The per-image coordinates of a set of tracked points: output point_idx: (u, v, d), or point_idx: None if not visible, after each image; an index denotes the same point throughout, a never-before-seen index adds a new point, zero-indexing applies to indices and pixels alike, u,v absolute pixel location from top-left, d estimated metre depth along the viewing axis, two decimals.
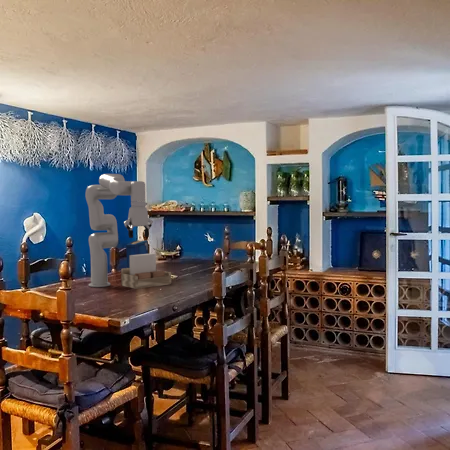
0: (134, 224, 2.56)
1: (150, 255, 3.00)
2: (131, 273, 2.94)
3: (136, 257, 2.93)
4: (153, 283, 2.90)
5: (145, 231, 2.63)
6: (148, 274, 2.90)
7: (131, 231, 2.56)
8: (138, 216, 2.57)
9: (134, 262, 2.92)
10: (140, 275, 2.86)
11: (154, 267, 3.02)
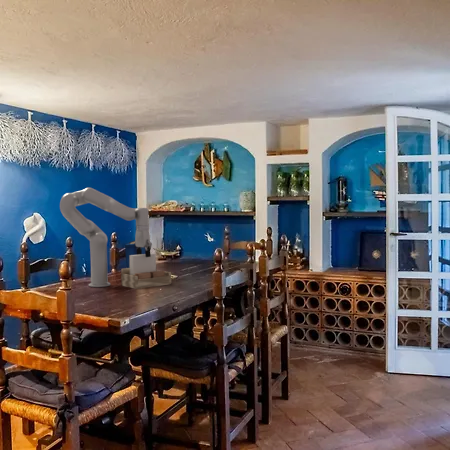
0: None
1: None
2: (131, 273, 2.94)
3: (136, 257, 2.93)
4: (153, 283, 2.90)
5: (139, 251, 3.02)
6: (148, 274, 2.90)
7: (149, 251, 2.95)
8: None
9: (134, 262, 2.92)
10: (140, 275, 2.86)
11: (154, 267, 3.02)
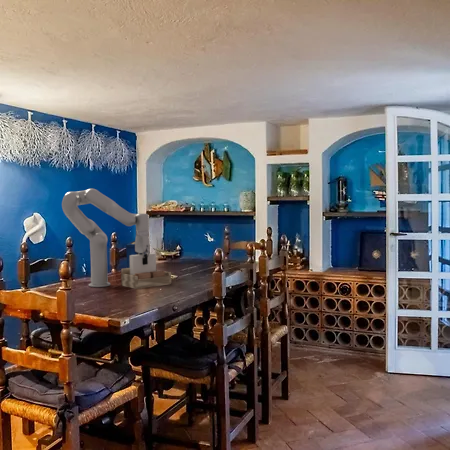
0: None
1: (150, 255, 3.00)
2: (131, 273, 2.94)
3: (136, 257, 2.93)
4: (153, 283, 2.90)
5: None
6: (148, 274, 2.90)
7: (146, 258, 2.97)
8: None
9: (134, 262, 2.92)
10: (140, 275, 2.86)
11: (154, 267, 3.02)
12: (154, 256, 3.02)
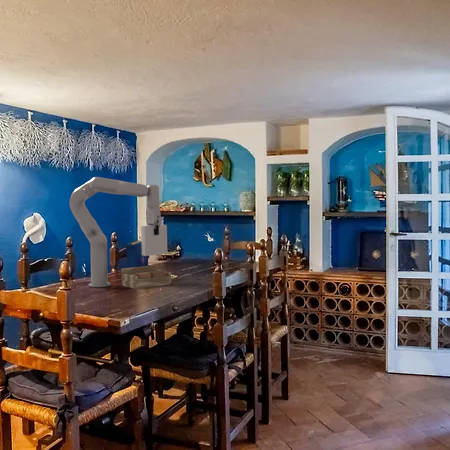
0: None
1: (161, 226, 3.04)
2: (143, 243, 2.98)
3: (147, 227, 2.98)
4: (153, 283, 2.90)
5: None
6: (148, 274, 2.90)
7: (158, 229, 3.02)
8: None
9: (146, 232, 2.97)
10: (140, 275, 2.86)
11: (165, 238, 3.07)
12: (165, 227, 3.06)
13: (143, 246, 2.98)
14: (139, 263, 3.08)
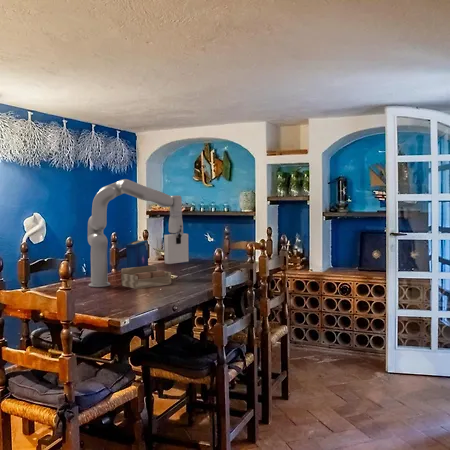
0: None
1: (183, 235, 3.16)
2: (166, 252, 3.10)
3: (170, 236, 3.09)
4: (153, 283, 2.90)
5: None
6: (148, 274, 2.90)
7: (180, 238, 3.13)
8: None
9: (169, 241, 3.09)
10: (140, 275, 2.86)
11: (187, 246, 3.18)
12: (187, 236, 3.18)
13: (166, 254, 3.10)
14: (139, 263, 3.08)
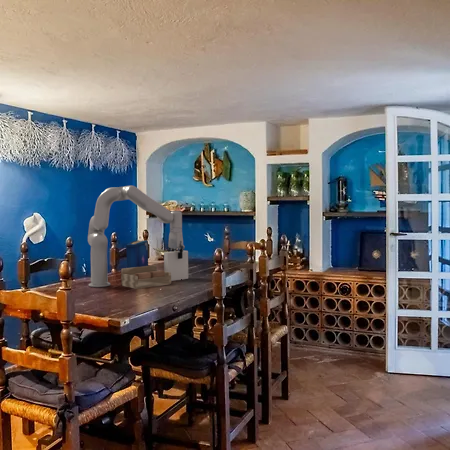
0: None
1: (183, 252, 3.16)
2: (165, 269, 3.10)
3: (170, 254, 3.10)
4: (153, 283, 2.90)
5: None
6: (148, 274, 2.90)
7: (181, 253, 3.13)
8: None
9: (168, 259, 3.09)
10: (140, 275, 2.86)
11: (186, 263, 3.18)
12: (186, 253, 3.18)
13: None
14: (139, 263, 3.08)
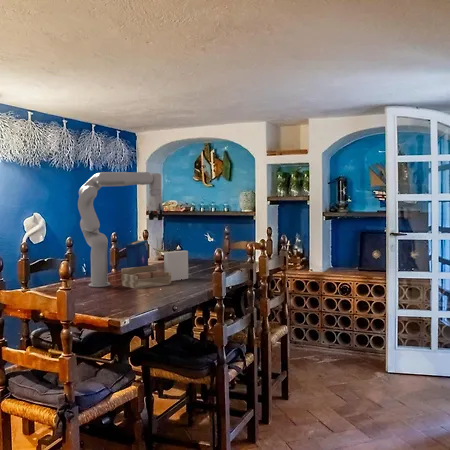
0: None
1: (183, 252, 3.16)
2: (165, 269, 3.10)
3: (170, 254, 3.10)
4: (153, 283, 2.90)
5: (151, 215, 3.15)
6: (148, 274, 2.90)
7: (161, 214, 3.08)
8: None
9: (168, 259, 3.09)
10: (140, 275, 2.86)
11: (186, 263, 3.18)
12: (186, 253, 3.18)
13: None
14: (139, 263, 3.08)
